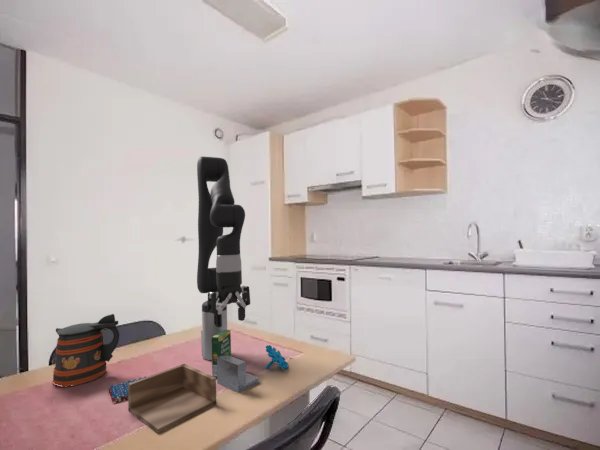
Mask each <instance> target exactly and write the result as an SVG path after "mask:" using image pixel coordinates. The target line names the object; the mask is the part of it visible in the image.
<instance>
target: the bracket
mask: <svg viewBox="0 0 600 450" xmlns="http://www.w3.org/2000/svg"><path fill="white" fill-rule="evenodd" d="M259 383H260V377H259V376H258V377H257V376H255V375H253V374H249V373H247V362H246V361H244V359H243V360H242V359H239V358H236V357H233V356H232V355H231V356H228V355H222V356H219V357H217V378H216V385H220V386H222V387H224V388H226V389H229V390H231V391H233V392H235V393H238V394H239V393H241V392H243V391H246V390H247V389H249V388H251V387H253V386H255V385H257V384H259Z"/></svg>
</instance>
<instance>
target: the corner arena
mask: <svg viewBox="0 0 600 450" xmlns="http://www.w3.org/2000/svg"><path fill="white" fill-rule="evenodd" d="M144 377H145V378H143V379H140V380H138V379H136V380H137V381H134V382H131V383H129V384H128V399H127V400H128V404H127V406H128V411H129V412H128V413H131V414H132V415H134V416H135V417H136V418H138V420H140V421H141V422H143V423H144V425H147V426H148V427H149V428H150V429H151V430H153V431H154V432H156V434H159V433H162V432H163V431H165V430H168V429H170V428H172V427H174V426H176V425H178V424H180V423H181V422H184V421H186V420H188V419H189V418H191V417H194V416H196V415H197V414H199V413H201V412H203V411H205V410H207V409H209V408H212V407H213V406H215V405H217V378H216V377H213V375H211V374H209V373H206V372H204V371H202V370H199V369H197V368H194V367H192V366H191V365H188V364H186V363H182V364H180V365H177V366H174V367H172V368H168V369H165V370H163V371H160V372H157V373H154V374H151V375H148V376H144Z"/></svg>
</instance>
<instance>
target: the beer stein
mask: <svg viewBox="0 0 600 450" xmlns="http://www.w3.org/2000/svg"><path fill="white" fill-rule="evenodd" d="M117 325H119V320H116V316H115V314H114V313H111V314H108V315H107V314H106V315H105V316H103V317H101V318H100V319H99V321H98V322H84V323H83V322H82V323H76V324H72V325H69V326H66V327H63V328H57V327H56V328H55V332H56V334H57V335H58V338H57V342H56V347H55V353H56V357H55V366H54V368H53V374H52V376H53V377H52V383H53V382H54V383H55V384H58V385H62V386H71V385H74V386H77V385H76V384H79V385H82V384H81V383H83V384H86V383H89V381H90V382H92V381H95V380H97V379H98V378H101V377H102V376H103V375H105V374H106V371H107V364H108V363H107V362H110V361H111V359H112V358H113V357H114V355H113V353H114V351H115V349H116V348H117V345H119V341H120V332H119V329H118V327H117ZM105 329H106V330H110V331H111V332H112V333H113V338H112V341H110V342H108V343H105V339H104V336H103V330H105ZM104 373H105V374H104ZM85 382H86V383H85Z"/></svg>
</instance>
